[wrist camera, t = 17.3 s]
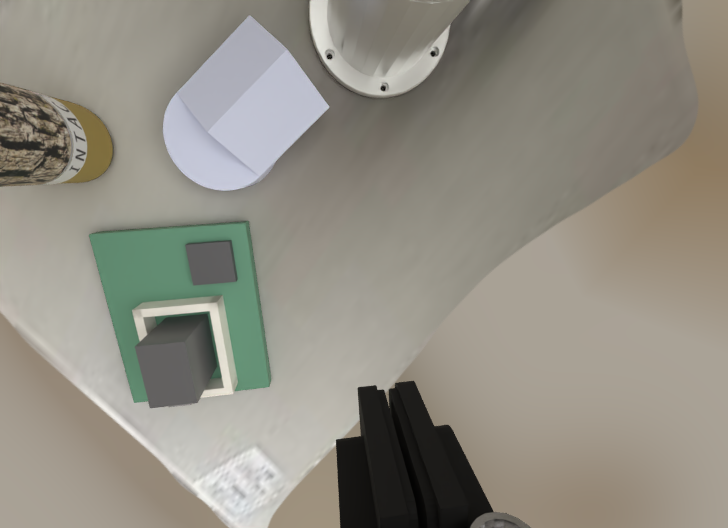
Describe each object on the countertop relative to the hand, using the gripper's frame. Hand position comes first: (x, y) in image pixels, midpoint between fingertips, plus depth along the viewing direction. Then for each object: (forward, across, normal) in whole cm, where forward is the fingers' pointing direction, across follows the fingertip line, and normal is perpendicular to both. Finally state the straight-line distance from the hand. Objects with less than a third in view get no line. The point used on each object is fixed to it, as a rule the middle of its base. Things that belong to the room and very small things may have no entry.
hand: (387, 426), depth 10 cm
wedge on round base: (+27, +8, -12) cm, 31 cm away
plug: (+26, +16, +9) cm, 31 cm away
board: (+27, +16, +6) cm, 32 cm away
